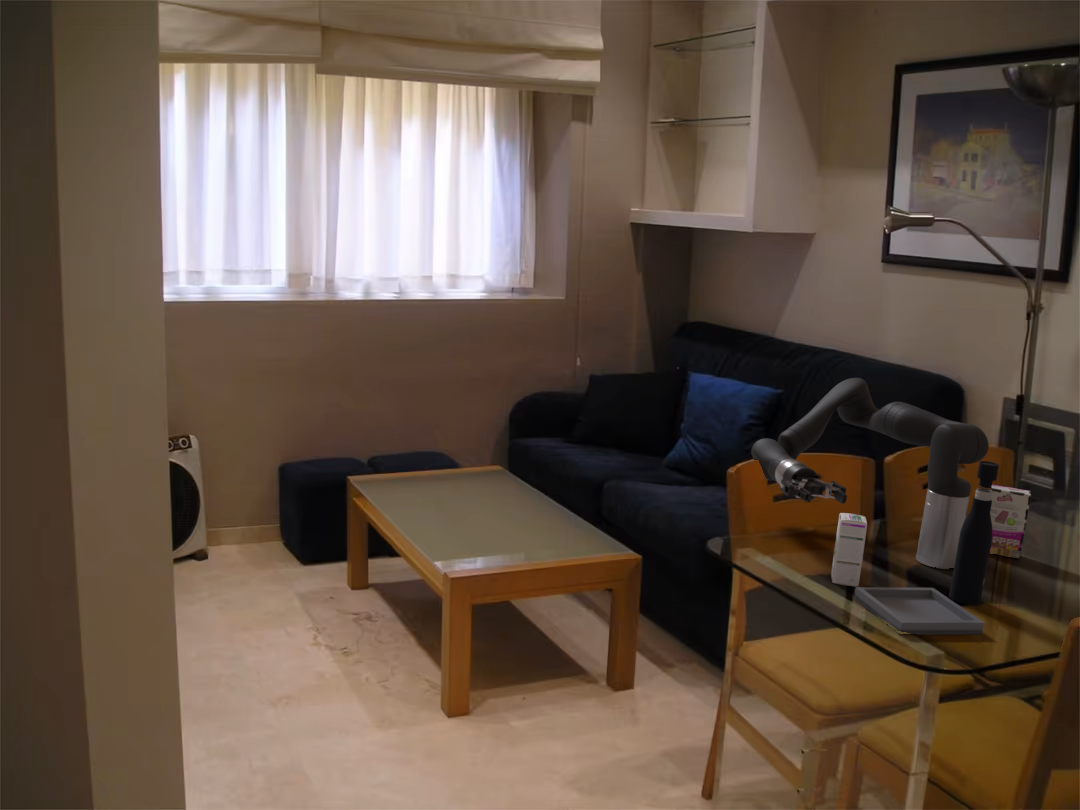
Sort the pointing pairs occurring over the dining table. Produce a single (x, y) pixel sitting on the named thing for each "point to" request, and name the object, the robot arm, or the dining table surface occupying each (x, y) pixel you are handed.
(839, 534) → the syrup box
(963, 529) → the dark water bottle
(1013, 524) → the candy bar box
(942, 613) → the tray
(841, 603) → the dining table surface
